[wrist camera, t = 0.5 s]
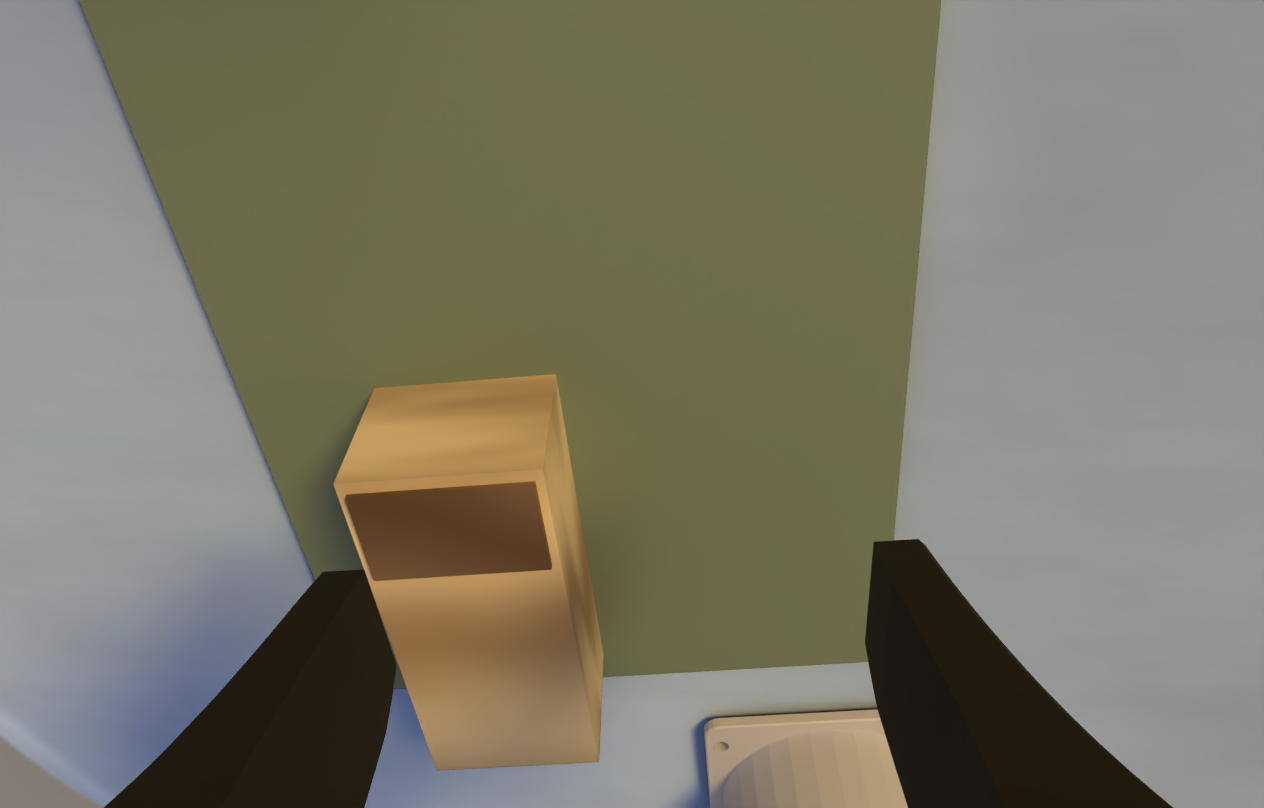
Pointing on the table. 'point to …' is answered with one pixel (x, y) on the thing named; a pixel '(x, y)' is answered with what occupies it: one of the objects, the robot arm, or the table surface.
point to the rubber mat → (573, 267)
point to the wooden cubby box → (480, 568)
